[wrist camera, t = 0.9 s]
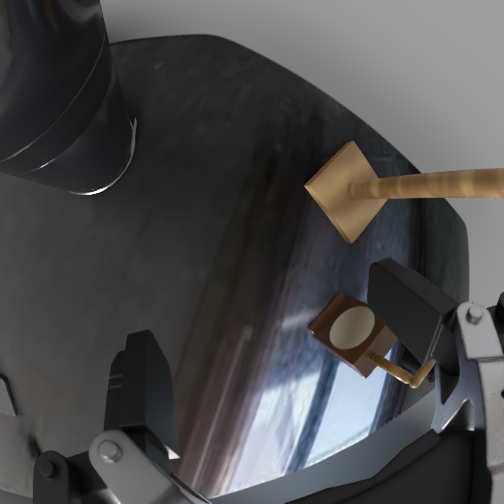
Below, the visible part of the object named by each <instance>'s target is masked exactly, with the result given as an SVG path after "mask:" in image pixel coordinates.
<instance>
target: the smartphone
mask: <svg viewBox="0 0 504 504" xmlns="http://www.w3.org/2000/svg"><path fill="white" fill-rule="evenodd" d="M0 412H2V413H5V414H7V415H10V416H13V417H17V416H18V413H17V410H16V407H15V404H14V402H13V399H12V395H11V392H10V389H9V386H8V382H7V380H6V378H5V377H3V376H0Z"/></svg>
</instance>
